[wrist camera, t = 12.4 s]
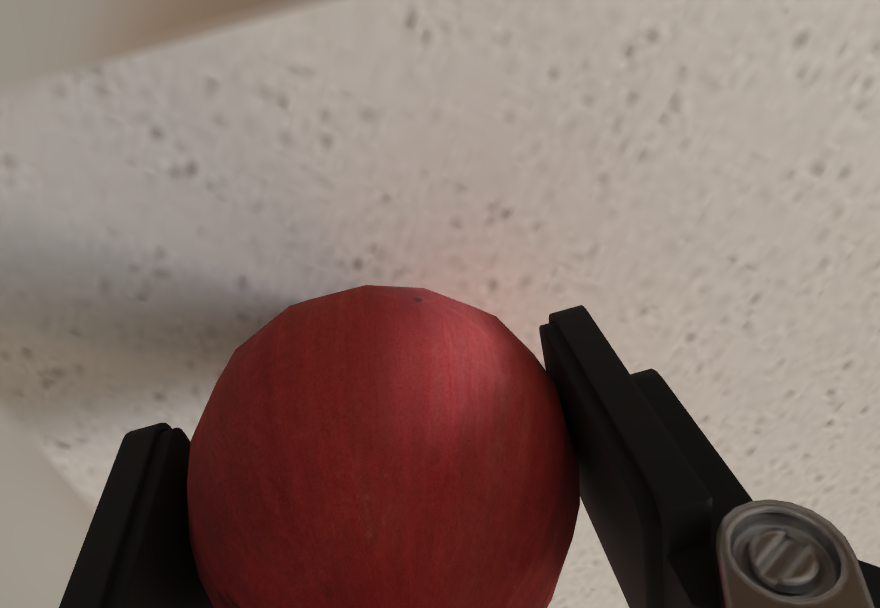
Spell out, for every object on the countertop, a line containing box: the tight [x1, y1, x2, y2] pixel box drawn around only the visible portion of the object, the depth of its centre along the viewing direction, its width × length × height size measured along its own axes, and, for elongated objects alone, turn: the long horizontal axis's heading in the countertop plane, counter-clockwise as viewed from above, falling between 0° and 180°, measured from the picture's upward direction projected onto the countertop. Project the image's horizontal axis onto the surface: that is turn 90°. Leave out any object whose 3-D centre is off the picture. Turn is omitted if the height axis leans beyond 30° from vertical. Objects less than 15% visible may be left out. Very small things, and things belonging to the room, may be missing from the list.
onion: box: [187, 285, 580, 608], centre depth 9 cm, size 6×6×8 cm
